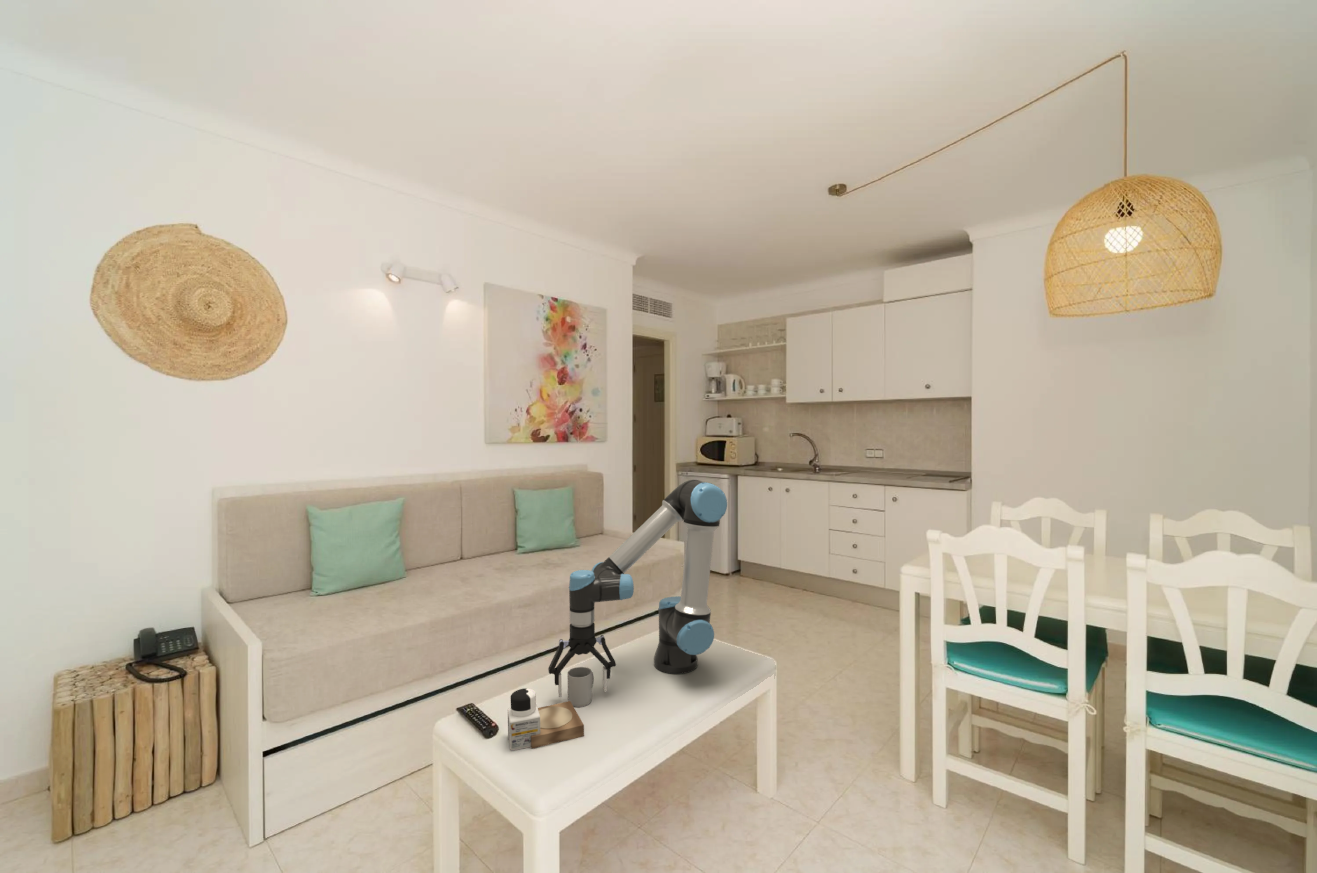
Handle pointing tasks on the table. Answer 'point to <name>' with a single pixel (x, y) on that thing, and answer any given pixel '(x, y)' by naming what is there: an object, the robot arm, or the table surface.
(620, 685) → the table surface
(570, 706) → the pedestal
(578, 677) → the cup
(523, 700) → the container
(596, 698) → the table surface
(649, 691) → the table surface
